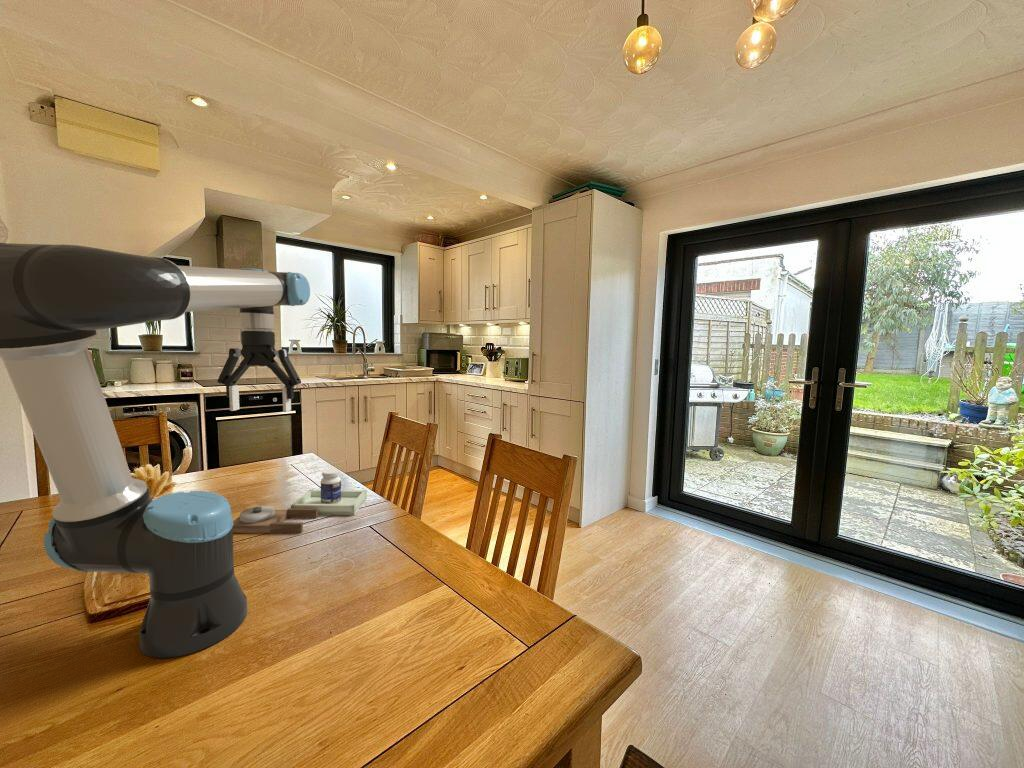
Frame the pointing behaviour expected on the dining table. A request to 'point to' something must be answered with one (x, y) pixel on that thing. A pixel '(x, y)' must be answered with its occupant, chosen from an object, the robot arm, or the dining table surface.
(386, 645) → the dining table surface
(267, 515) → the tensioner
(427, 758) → the dining table surface
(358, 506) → the tray
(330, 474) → the pill bottle
